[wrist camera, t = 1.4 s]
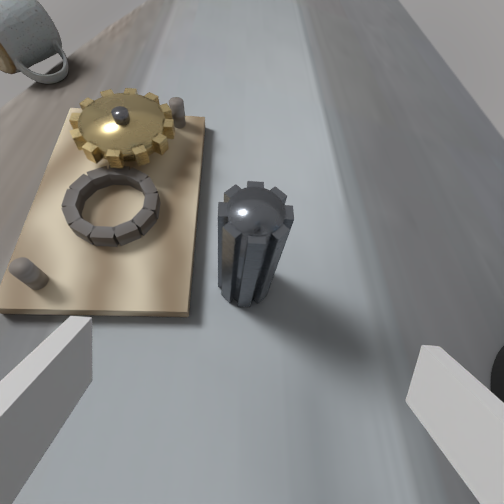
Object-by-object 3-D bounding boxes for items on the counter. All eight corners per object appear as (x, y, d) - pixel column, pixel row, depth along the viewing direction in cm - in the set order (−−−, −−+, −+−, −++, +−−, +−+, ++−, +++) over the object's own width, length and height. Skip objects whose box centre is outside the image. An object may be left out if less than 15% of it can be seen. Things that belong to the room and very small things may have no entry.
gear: (181, 118, 39) (176, 83, 35) (171, 184, 34) (165, 151, 30) (93, 112, 38) (79, 76, 34) (71, 178, 33) (51, 144, 29)
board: (205, 127, 41) (203, 95, 37) (188, 317, 29) (183, 299, 25) (75, 118, 40) (59, 84, 36) (1, 313, 28) (-35, 295, 24)
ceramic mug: (-18, 64, 43) (-62, -3, 36) (32, 38, 46) (1, -27, 40) (40, 98, 41) (5, 34, 34) (87, 68, 45) (65, 5, 38)
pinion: (267, 261, 32) (291, 182, 22) (269, 307, 30) (296, 244, 20) (219, 259, 32) (219, 178, 22) (217, 306, 30) (216, 241, 19)
